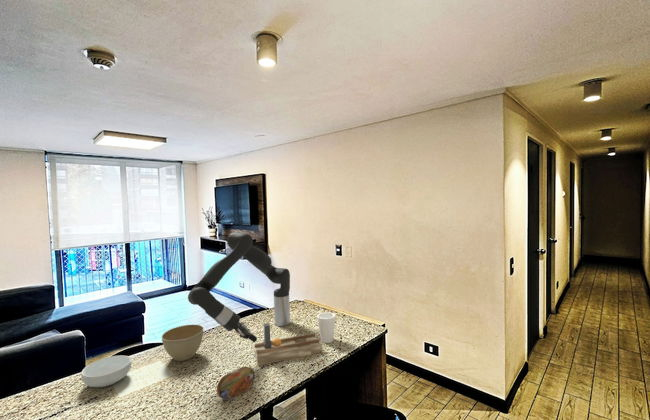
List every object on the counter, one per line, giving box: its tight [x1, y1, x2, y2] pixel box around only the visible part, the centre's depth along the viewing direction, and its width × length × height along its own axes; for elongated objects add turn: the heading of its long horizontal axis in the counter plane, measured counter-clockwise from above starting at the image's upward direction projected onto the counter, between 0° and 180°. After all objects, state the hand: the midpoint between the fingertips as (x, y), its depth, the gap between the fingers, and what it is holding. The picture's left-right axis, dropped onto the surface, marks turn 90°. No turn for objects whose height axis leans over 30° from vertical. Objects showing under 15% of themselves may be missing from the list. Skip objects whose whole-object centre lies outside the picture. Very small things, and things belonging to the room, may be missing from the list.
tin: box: [216, 366, 256, 401], centre depth 116 cm, size 15×3×8 cm, turn 138°
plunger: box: [263, 322, 272, 349], centre depth 142 cm, size 4×3×11 cm
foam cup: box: [316, 311, 336, 344], centre depth 158 cm, size 10×9×13 cm
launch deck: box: [253, 332, 322, 366], centre depth 146 cm, size 12×30×6 cm, turn 110°
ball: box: [272, 337, 281, 347], centre depth 144 cm, size 4×4×4 cm
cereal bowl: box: [80, 354, 132, 388], centre depth 126 cm, size 17×17×7 cm
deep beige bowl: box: [161, 324, 204, 362], centre depth 145 cm, size 18×18×12 cm
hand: (255, 340), depth 141 cm, fingers closed
